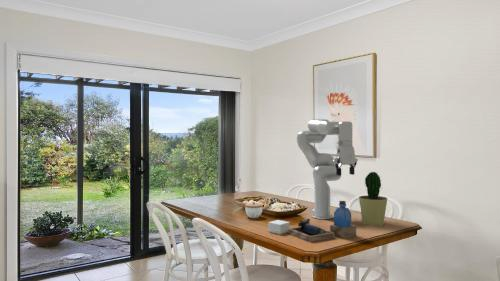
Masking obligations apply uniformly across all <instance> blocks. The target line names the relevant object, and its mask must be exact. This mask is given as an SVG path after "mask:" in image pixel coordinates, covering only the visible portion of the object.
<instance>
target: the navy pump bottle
mask: <svg viewBox="0 0 500 281" xmlns="http://www.w3.org/2000/svg"><path fill="white" fill-rule="evenodd" d="M310 221H311V220H310V218H307V219H306V220H300V221H299V222H298V227H301V228H299V232H301V233H304V234H306V233H307V234H309V235H312V236H314V235H320V234H324V230H323V229H324V228H322V227H320V226H316V225H314V224H310Z"/></svg>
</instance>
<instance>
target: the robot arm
mask: <svg viewBox="0 0 500 281" xmlns="http://www.w3.org/2000/svg"><path fill="white" fill-rule="evenodd" d="M307 128H308V130H301V131H300V132H298V133H297V135H296V143H297V145H298V147H299V149H300V150H301V151H302V152H301V153H303V154H304V156H305V158H306V160H307V162H308V164H309V166H310V167H311V168H312V169H313V171H312V177H313V183H314V184H313V186H314V208H313V209H311V212H313V214H311V216H312V218H313V219H317V220H330V219H334V214H331V187H330V185H329V183H328V182H333V181H334V182H336V181H338V180H340V179H341V177H342V168H341V167H342V166H344V165H345V166H347V165H349V170H348V171H349V175H352V176H353V175H355V168H356V165H357V163H358V158H357V157H356V154H355V148H354V146H353V122H352V121H348V120H347V121H346V120H345V121H329V119H323V118H322V119H320V118H319V119H317V118H316V119H311V120H309V121H308V122H307ZM333 135H334V136H338V139H337V141H338V142H337V148H336V157H334V156H333V155H332V154H330V153H320V152H319V151H318V150H317V148H316V147H315V146H314V145H313V144H321V143H323V141H324V140H325V138H326V137H327V136H333Z"/></svg>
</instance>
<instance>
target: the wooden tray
mask: <svg viewBox="0 0 500 281" xmlns="http://www.w3.org/2000/svg"><path fill="white" fill-rule="evenodd" d="M299 228H301V226H300V227H299V226H297V227H290V228H289V229H288V232H287V234H289V235H291V236H292V237H293V236H294V237H296V238H299V239H301V240H303V241H306V242H309V243H313V242H319V241H325V240H330V239H335V238H336V237H335V233H334V232H331V231H330V230H328V229H325V228H322V229H323V230H324V234H320V235H310V234H306V233H301V232H299Z"/></svg>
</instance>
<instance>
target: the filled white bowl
mask: <svg viewBox="0 0 500 281" xmlns="http://www.w3.org/2000/svg"><path fill="white" fill-rule="evenodd" d="M244 206H245V208H244V209H245V213H246V215H247V217H248V218H250V219H258V218H259V217H260V216H261V215H262V213H263V204H262V203H259V202H255V201H253V202H249V203H245V205H244Z"/></svg>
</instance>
